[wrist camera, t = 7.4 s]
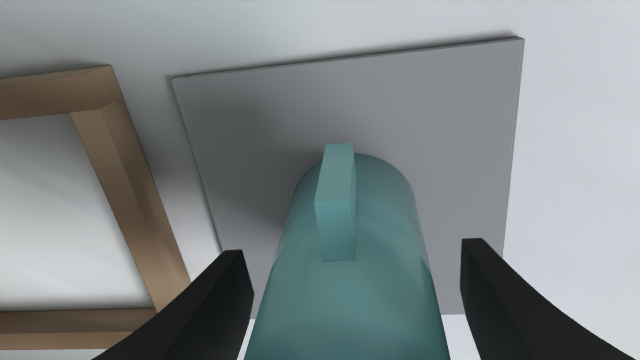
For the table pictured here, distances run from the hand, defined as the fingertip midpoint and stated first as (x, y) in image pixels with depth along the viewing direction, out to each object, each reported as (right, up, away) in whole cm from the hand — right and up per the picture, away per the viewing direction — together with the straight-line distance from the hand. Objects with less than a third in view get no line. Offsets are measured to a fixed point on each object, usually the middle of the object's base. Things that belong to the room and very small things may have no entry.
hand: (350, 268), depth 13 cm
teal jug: (0, +2, +3) cm, 4 cm away
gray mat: (0, +2, +3) cm, 4 cm away
